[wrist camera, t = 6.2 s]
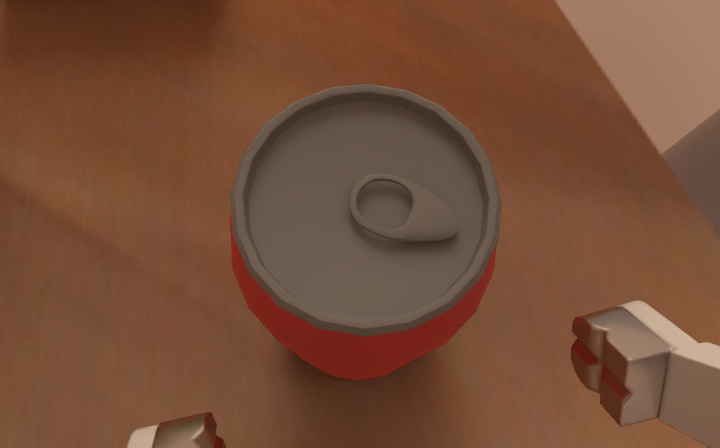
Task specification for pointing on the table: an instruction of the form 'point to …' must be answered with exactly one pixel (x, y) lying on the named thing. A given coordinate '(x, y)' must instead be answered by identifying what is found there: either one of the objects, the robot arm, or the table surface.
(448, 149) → the beer can
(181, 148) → the table surface
